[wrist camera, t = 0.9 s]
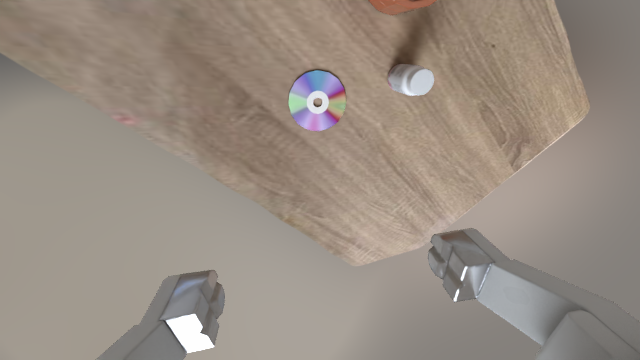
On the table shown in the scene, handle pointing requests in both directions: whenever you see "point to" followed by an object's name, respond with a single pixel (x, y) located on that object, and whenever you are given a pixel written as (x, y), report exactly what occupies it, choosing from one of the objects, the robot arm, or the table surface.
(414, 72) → the pill bottle
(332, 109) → the cd
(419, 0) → the pot
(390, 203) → the table surface
